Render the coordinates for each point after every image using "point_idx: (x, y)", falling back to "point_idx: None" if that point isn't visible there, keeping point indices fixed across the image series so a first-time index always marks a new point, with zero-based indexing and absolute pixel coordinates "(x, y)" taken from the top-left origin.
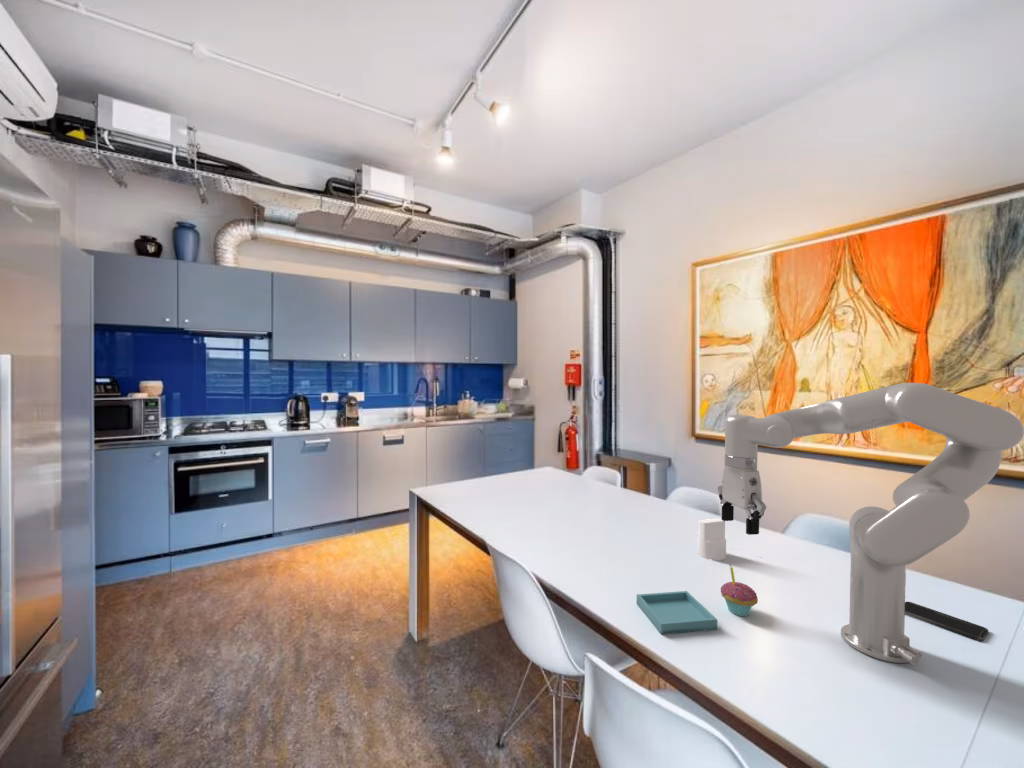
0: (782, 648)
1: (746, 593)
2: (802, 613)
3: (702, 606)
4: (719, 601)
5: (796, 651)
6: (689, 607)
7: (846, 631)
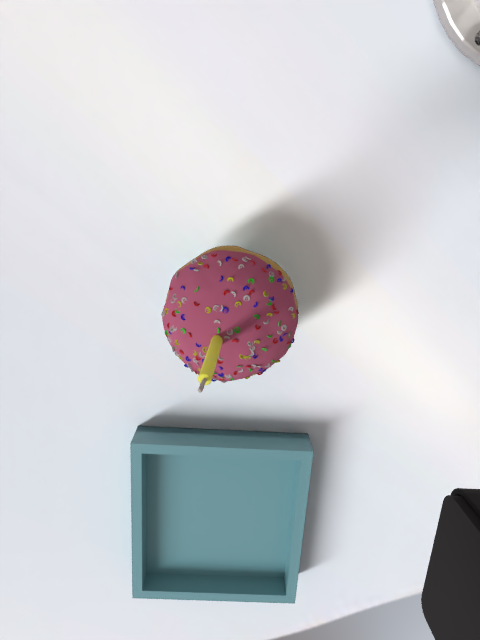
0: (433, 314)
1: (279, 325)
2: (295, 57)
3: (236, 451)
4: (162, 323)
5: (457, 284)
6: (198, 457)
7: (470, 16)
